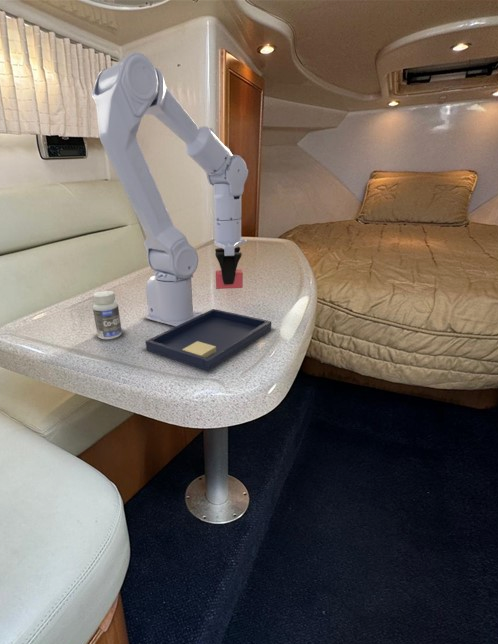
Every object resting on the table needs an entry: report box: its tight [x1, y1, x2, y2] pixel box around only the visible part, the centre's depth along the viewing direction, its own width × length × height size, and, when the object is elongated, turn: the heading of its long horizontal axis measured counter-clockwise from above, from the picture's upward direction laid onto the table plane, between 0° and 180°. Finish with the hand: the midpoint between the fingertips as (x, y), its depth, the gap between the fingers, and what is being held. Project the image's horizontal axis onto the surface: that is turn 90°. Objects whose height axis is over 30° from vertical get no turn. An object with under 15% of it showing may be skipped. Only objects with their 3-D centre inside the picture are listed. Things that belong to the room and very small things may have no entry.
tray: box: [145, 308, 272, 372], centre depth 66 cm, size 14×20×2 cm
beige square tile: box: [182, 341, 216, 358], centre depth 60 cm, size 4×4×1 cm
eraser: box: [215, 268, 244, 290], centre depth 83 cm, size 6×3×4 cm, turn 86°
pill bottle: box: [92, 290, 123, 340], centre depth 69 cm, size 5×5×8 cm
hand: (228, 281), depth 83 cm, fingers closed on eraser, 3 cm apart
